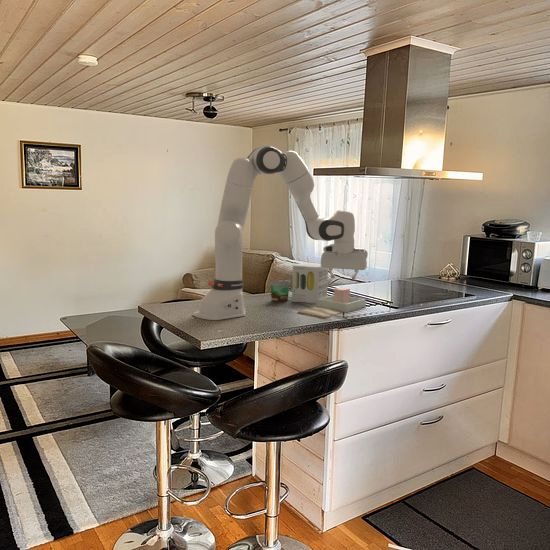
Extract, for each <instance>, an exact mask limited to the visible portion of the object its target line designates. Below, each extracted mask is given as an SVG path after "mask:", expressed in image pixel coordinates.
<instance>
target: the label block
mask: <svg viewBox="0 0 550 550" xmlns="http://www.w3.org/2000/svg"><path fill="white" fill-rule="evenodd" d="M350 293H351V288H348V287H341V286H339V287H336V288H334V289H333V295H334V302H340V303H345V304H347V303H349V300H350V297H351V294H350Z"/></svg>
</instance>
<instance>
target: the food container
mask: <svg viewBox="0 0 550 550" xmlns="http://www.w3.org/2000/svg"><path fill="white" fill-rule="evenodd" d="M291 283H292V281H291V279H290V278H289V277H284V279H281V280H280V279H279V280H270V282H269V286H270V296H271V297H270V299H271V300H270V301H271V302H272V301H273V302H274V303H285V302H288V300H289V292H290V285H291ZM273 302H272V303H273Z"/></svg>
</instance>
